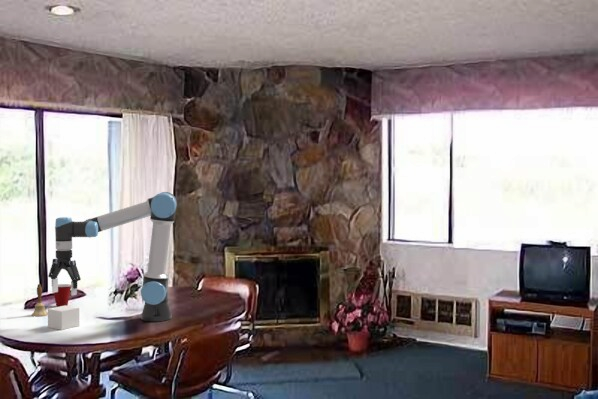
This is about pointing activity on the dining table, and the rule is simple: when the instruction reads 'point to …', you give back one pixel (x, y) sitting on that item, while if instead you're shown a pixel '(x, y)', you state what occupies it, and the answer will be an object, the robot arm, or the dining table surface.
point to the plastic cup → (62, 294)
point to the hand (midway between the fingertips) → (64, 293)
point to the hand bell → (39, 304)
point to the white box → (63, 317)
